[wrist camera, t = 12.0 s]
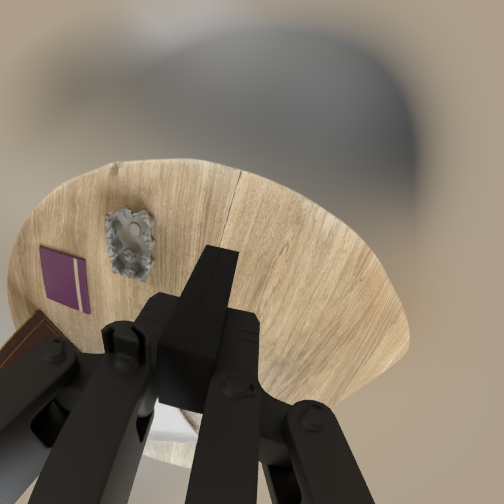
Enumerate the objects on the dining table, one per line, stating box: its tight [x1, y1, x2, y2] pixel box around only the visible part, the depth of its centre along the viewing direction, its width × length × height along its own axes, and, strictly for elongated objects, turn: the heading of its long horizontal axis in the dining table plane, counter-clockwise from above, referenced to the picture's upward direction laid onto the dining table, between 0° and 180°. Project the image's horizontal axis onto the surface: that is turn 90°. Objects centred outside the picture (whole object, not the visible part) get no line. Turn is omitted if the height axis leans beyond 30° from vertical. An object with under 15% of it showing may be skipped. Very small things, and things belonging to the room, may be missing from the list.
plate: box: [147, 398, 199, 444], centre depth 58 cm, size 21×21×3 cm
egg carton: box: [105, 207, 155, 282], centre depth 39 cm, size 11×8×4 cm
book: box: [0, 310, 82, 374], centre depth 41 cm, size 22×8×25 cm, turn 39°
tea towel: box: [39, 246, 90, 314], centre depth 44 cm, size 12×12×1 cm
